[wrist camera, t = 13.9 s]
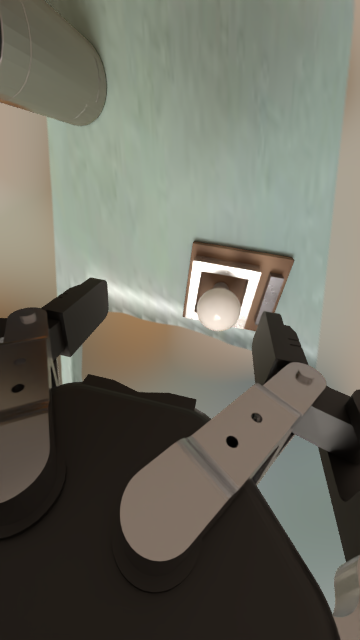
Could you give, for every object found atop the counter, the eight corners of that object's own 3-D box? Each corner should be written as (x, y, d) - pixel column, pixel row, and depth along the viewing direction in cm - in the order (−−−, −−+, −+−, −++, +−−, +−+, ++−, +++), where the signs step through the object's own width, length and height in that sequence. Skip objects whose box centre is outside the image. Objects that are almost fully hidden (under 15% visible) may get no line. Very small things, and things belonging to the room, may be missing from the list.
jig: (184, 312, 47) (179, 324, 44) (194, 241, 40) (190, 248, 36) (265, 328, 46) (268, 342, 42) (292, 257, 38) (298, 266, 34)
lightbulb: (245, 296, 42) (248, 331, 32) (211, 308, 44) (205, 344, 35) (230, 264, 39) (230, 292, 30) (196, 279, 42) (185, 309, 32)
